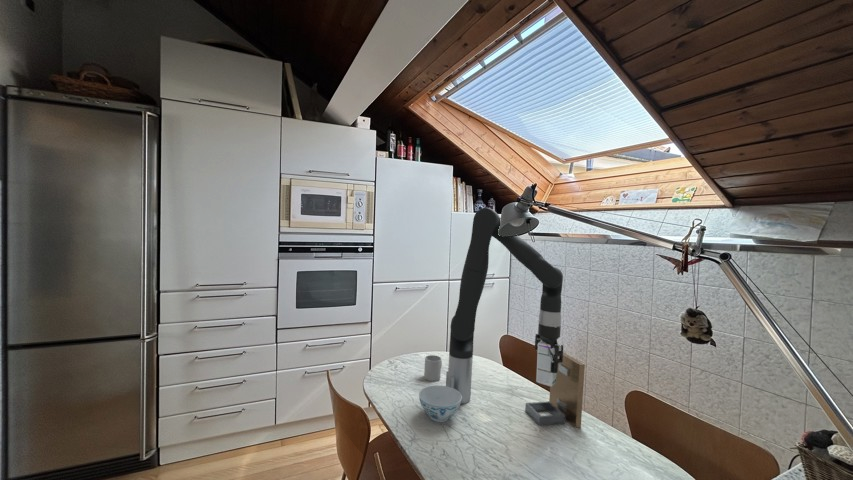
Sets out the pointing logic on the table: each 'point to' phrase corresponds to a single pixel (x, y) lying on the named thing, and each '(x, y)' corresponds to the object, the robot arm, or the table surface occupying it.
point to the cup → (432, 368)
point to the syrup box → (545, 365)
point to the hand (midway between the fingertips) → (547, 367)
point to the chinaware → (440, 402)
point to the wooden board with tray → (562, 396)
